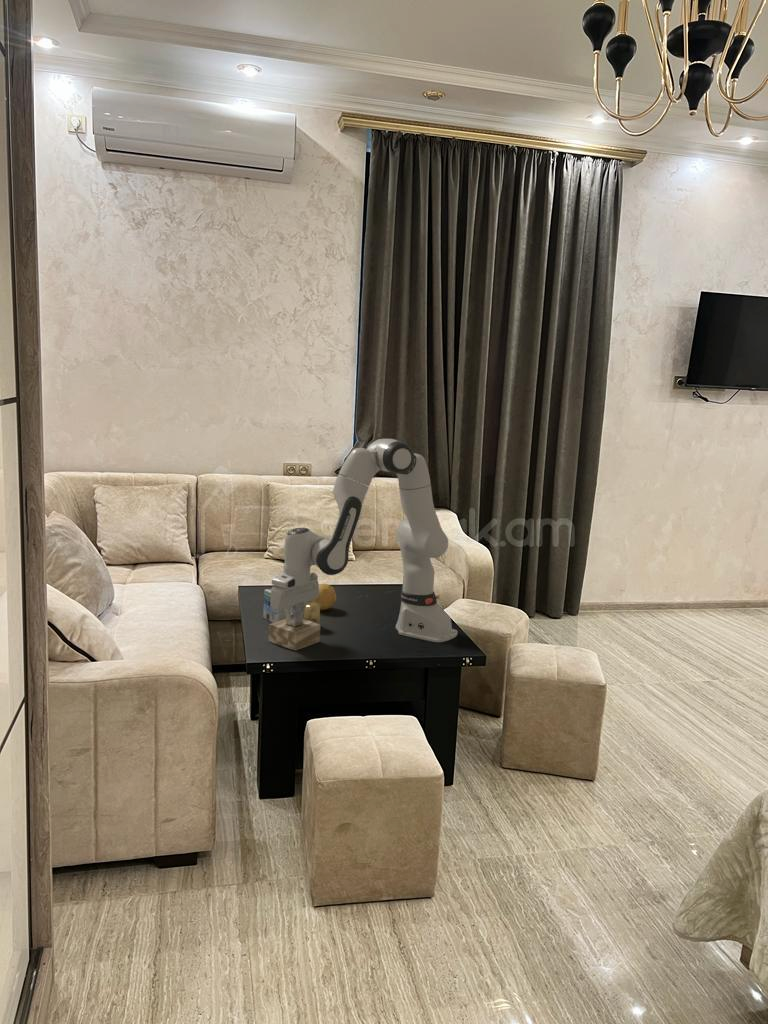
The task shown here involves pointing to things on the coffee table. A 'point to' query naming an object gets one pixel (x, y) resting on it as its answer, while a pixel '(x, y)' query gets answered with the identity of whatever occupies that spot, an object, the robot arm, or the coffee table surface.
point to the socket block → (294, 634)
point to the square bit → (296, 615)
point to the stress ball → (325, 596)
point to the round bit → (312, 612)
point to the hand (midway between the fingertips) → (294, 617)
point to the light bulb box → (271, 609)
